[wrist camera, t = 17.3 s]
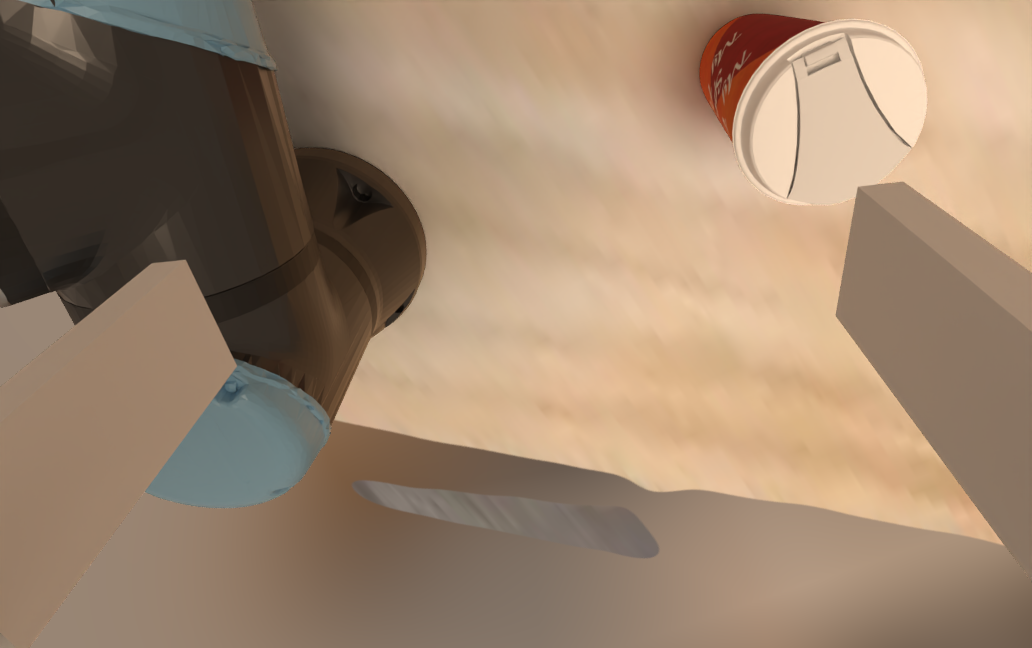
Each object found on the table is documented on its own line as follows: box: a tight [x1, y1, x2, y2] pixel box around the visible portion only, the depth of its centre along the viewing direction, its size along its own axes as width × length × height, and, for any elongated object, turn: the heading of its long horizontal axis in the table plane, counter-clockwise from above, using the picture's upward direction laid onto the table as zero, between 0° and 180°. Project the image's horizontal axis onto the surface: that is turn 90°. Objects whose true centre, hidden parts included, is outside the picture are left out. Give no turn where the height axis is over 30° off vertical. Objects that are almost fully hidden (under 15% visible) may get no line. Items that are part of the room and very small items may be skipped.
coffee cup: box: [700, 14, 928, 206], centre depth 32 cm, size 8×8×15 cm
